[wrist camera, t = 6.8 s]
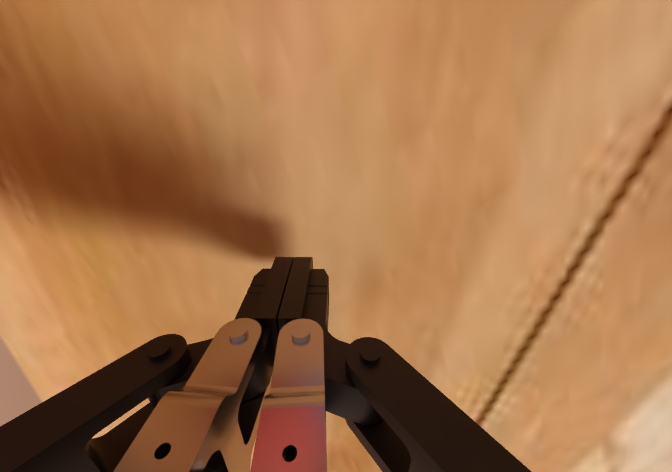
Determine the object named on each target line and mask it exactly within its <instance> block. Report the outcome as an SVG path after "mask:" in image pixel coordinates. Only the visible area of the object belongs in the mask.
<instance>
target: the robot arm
mask: <svg viewBox="0 0 672 472" xmlns="http://www.w3.org/2000/svg"><path fill="white" fill-rule="evenodd" d="M328 315H329V277H328V275H327V273H326V272H325V270H324V269H313V259H312V257H276V258H275V260H274V263H273V265H272V268H271V269H262V270H261V271H260V272H259V273H257V274H256V275H255V276H254V278H253V280H252V282H251V285H250V287H249V289H248V291H247V294H246V296H245V298H244V300H243V302H242V304H241V307H240V309H239V311H238V313H237V315H236V317H235V320H232V321H230V322H228V323H226V324H225V325H224V326H222V327H221V328H220V329H219V330H218V332H217V333H216V335H215V337H214V338H212V339H209V340H205V341H201V342H197V343H193V344H189V345H187V343H186V340H185V339H184V338H183V337H182V336H180V335H177V334H167V335H163V336H159V337H157V338H154V339H153V340H151V341H149V342H147V343H145V344H144V345H142V346H140V347H138V348H137V349H135V350H133V351H131V352H130V353H128V354H126V355H124V356H123V357H121V358H119V359H117V360H116V361H114V362H112V363H110V364H109V365H107V366H105V367H103V368H102V369H100V370H98V371H97V372H95V373H93V374H91V375H90V376H88V377H86V378H84V379H83V380H81V381H79V382H77V383H76V384H74V385H72V386H70V387H69V388H67V389H65V390H63V391H62V392H60V393H58V394H56V395H55V396H53V397H51V398H49V399H48V400H46V401H44V402H42V403H41V404H39V405H37V406H35V407H34V408H32V409H30V410H29V411H27V412H25V413H23V414H22V415H20V416H18V417H16V418H15V419H13V420H11V421H9V422H8V423H6V424H4V425H2V426H1V427H0V472H327V445H326V411H328V412H330V413H333V414H335V415H338V416H340V417H343V418H345V420H346V422H347V424H348V426H349V427H350V429H351V430H352V431H353V433H354V434H355V435H356V437H357V438H358V439H359V441H360V442H361V443H362V445H363V446H364V447H365V449H366V450H367V451H368V453H369V454H370V455H371V457H372V458H373V459H374V461H375V462H376V463H377V465H378V466H379V467H380V469H381V470H382V471H383V472H531V471H530V470H529V469H528V468H527V467H525V466H524V465H523V464H522V463H521V462H520V461H519V460H518V459H516V458H515V457H514V456H513V455H512V454H511V453H510V452H508V451H507V450H506V449H505V448H504V447H503V446H502V445H501V444H499V443H498V442H497V441H496V440H495V439H494V438H493V437H491V436H490V435H489V434H488V433H487V432H486V431H485V430H484V429H482V428H481V427H480V426H479V425H478V424H477V423H476V422H474V421H473V420H472V419H471V418H470V417H469V416H468V415H467V414H465V413H464V412H463V411H462V410H461V409H460V408H459V407H457V406H456V405H455V404H454V403H453V402H452V401H451V400H450V399H448V398H447V397H446V396H445V395H444V394H443V393H442V392H440V391H439V390H438V389H437V388H436V387H435V386H434V385H433V384H431V383H430V382H429V381H428V380H427V379H426V378H425V377H423V376H422V375H421V374H420V373H419V372H418V371H417V370H416V369H414V368H413V367H412V366H411V365H410V364H409V363H408V362H406V361H405V360H404V359H403V358H402V357H401V356H400V355H399V354H397V353H396V352H395V351H394V350H393V349H392V348H391V347H389V346H388V345H387V344H386V343H385V342H383V341H381V340H379V339H376V338H371V337H364V338H360V339H357V340H355V341H353V342H352V343H351V344H348V343H345V342H342V341H339V340H337V339H335V338H334V337H333V336H332V335H331V334H330V333H329V332H328ZM271 377H272V380H271ZM270 381H271V383H270ZM147 398H148V399H149V401H150V403H149V404H147V405H146V406H144V407H143V408H141V409H140V410H139V411H137V412H136V413H134V414H133V415H132V416H130V417H129V418H127V419H126V420H125V421H123V422H122V423H120V424H119V425H118V426H116V427H115V428H113V429H112V430H111V431H109V432H108V433H106V434H105V435H103V436H101V437H98V438H94V439H91V438H92V437H93V436H94V435H95V434H97V433H98V432H99V431H101V430H102V429H104V428H105V427H107V426H108V425H109V424H111V423H112V422H114V421H115V420H117V419H118V418H119V417H121V416H122V415H124V414H125V413H127V412H128V411H129V410H131V409H132V408H134V407H135V406H137V405H138V404H139V403H141V402H142V401H144V400H145V399H147ZM256 436H257V437H256ZM255 439H256V443H255V448H254V454H253V460H252V466H251V471H250V460H251V453H252V449H253V445H254V442H255Z"/></svg>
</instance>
